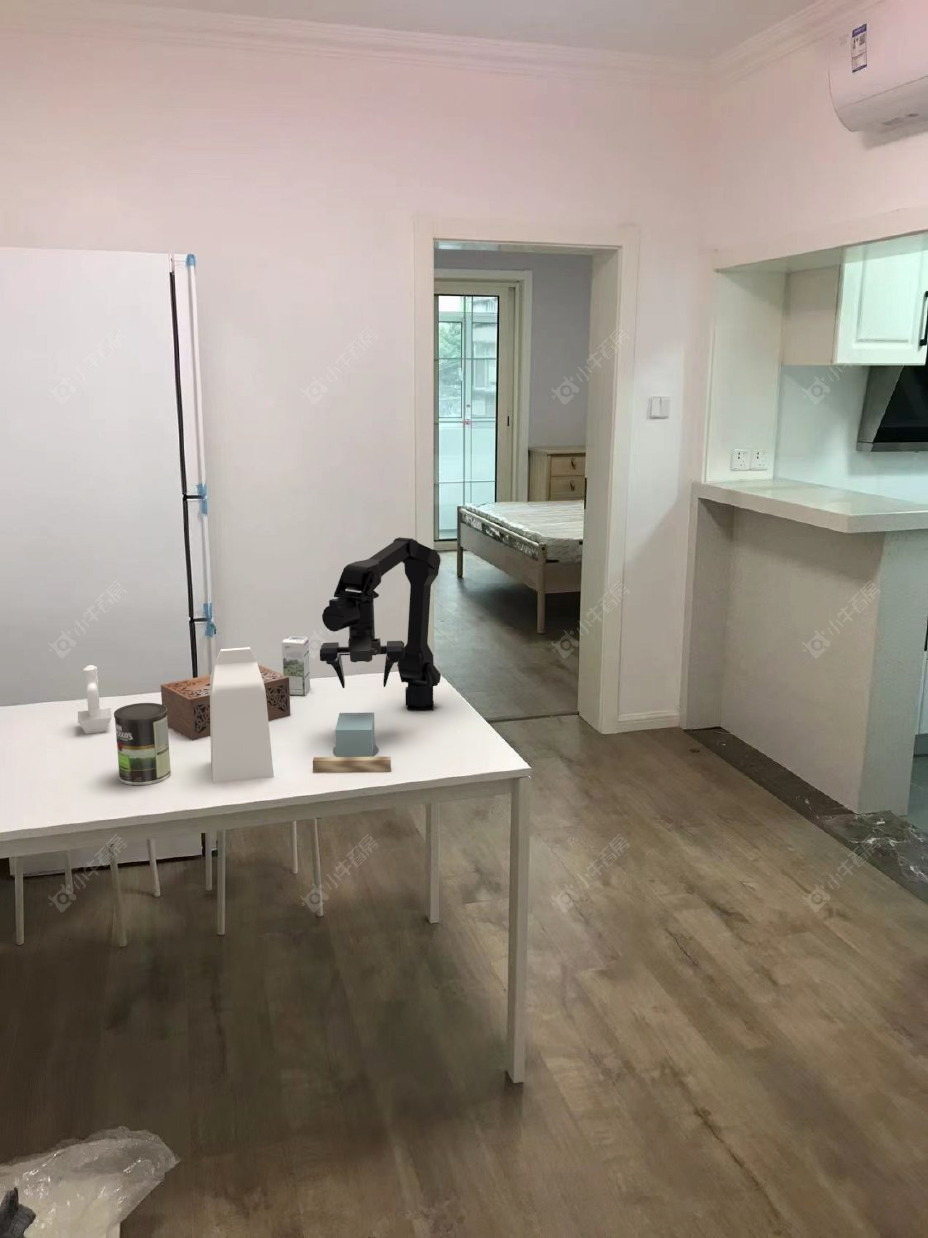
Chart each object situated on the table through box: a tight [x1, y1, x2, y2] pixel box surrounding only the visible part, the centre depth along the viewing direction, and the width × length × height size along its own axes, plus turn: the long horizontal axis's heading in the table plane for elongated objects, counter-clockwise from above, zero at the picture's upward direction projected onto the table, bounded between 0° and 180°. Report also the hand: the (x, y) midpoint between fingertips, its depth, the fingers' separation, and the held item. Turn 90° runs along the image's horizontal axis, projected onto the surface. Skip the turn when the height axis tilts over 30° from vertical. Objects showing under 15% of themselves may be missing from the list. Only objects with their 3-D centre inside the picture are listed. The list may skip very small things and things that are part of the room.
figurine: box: [77, 664, 112, 735], centre depth 229 cm, size 7×9×15 cm
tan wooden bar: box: [312, 756, 392, 773], centre depth 207 cm, size 16×2×2 cm, turn 92°
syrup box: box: [281, 636, 311, 697], centre depth 257 cm, size 6×6×14 cm
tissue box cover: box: [160, 664, 291, 741], centre depth 237 cm, size 26×14×10 cm, turn 132°
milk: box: [210, 646, 274, 784], centre depth 205 cm, size 12×12×26 cm
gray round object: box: [332, 744, 380, 757], centre depth 218 cm, size 10×10×1 cm
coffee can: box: [113, 702, 172, 786], centre depth 203 cm, size 10×10×14 cm
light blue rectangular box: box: [334, 712, 376, 757], centre depth 218 cm, size 8×11×7 cm
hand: (364, 687), depth 226 cm, fingers open, 9 cm apart
